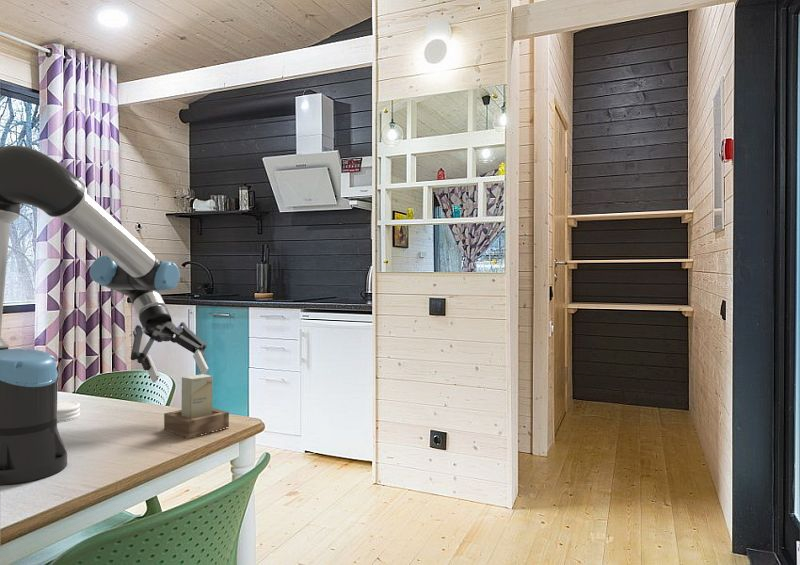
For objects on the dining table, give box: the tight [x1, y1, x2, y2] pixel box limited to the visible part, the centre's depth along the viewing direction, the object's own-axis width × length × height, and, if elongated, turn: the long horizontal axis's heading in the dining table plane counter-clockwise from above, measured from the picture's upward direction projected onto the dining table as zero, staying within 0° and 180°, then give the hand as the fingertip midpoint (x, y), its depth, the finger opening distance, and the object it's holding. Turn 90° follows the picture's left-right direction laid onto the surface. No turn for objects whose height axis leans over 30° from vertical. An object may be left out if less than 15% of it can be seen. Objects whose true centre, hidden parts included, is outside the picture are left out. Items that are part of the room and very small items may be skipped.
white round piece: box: [57, 400, 81, 423], centre depth 150 cm, size 10×10×4 cm
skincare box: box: [181, 373, 213, 419], centre depth 142 cm, size 6×4×12 cm
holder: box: [163, 407, 230, 439], centre depth 142 cm, size 11×11×4 cm
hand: (181, 375), depth 147 cm, fingers open, 13 cm apart
